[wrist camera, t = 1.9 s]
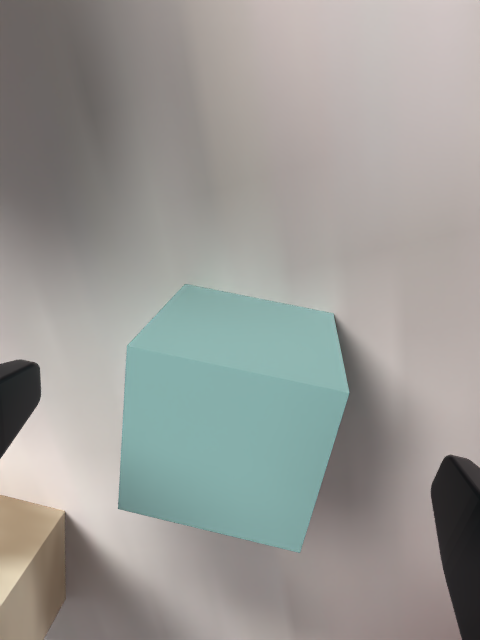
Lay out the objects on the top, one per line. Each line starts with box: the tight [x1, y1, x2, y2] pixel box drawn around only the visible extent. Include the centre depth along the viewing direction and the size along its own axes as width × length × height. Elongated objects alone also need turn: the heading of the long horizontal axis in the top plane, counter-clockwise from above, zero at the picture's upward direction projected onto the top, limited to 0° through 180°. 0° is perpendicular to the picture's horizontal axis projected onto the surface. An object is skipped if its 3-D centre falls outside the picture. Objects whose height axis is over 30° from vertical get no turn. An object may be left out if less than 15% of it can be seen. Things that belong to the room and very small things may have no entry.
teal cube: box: [118, 284, 349, 553], centre depth 10 cm, size 4×4×4 cm
